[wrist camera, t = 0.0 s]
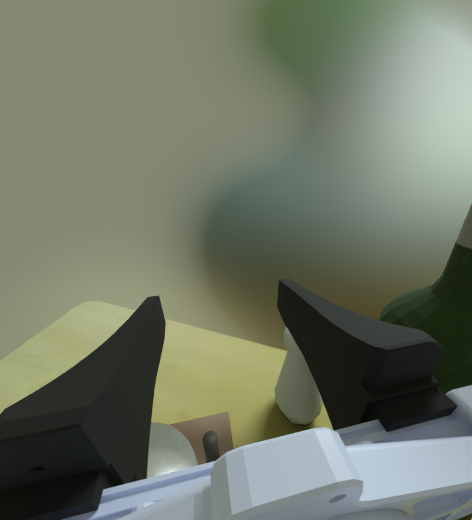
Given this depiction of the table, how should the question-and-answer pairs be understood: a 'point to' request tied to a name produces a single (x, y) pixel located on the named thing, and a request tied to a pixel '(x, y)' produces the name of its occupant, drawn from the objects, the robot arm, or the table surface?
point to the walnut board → (208, 436)
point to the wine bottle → (444, 314)
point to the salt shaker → (297, 386)
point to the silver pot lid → (168, 451)
